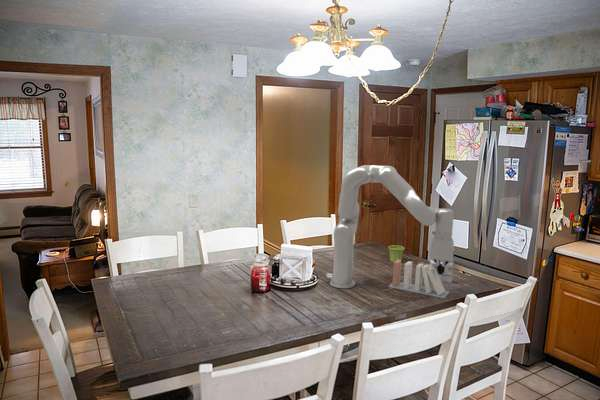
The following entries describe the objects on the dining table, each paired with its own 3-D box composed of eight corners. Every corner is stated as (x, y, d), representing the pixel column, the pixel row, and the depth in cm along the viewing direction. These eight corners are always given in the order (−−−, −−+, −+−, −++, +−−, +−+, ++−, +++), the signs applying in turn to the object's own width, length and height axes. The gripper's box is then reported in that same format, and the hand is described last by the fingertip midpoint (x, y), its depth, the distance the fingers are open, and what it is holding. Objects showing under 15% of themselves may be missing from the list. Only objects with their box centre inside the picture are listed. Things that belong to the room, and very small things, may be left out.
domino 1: (392, 286, 219) (393, 262, 218) (396, 282, 225) (397, 259, 223) (396, 286, 218) (397, 263, 217) (400, 283, 224) (401, 260, 222)
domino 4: (426, 292, 211) (421, 267, 211) (429, 289, 216) (425, 264, 216) (430, 292, 210) (426, 267, 210) (433, 289, 215) (429, 264, 215)
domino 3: (414, 290, 214) (416, 266, 212) (418, 286, 219) (419, 263, 217) (418, 291, 213) (420, 266, 211) (422, 287, 218) (423, 263, 216)
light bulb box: (449, 280, 233) (450, 260, 232) (452, 284, 227) (453, 264, 225) (428, 279, 234) (429, 259, 233) (430, 283, 228) (432, 262, 226)
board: (387, 288, 219) (387, 286, 219) (394, 282, 227) (394, 281, 227) (444, 300, 205) (444, 298, 205) (449, 293, 214) (449, 291, 214)
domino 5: (437, 295, 208) (426, 271, 210) (441, 291, 214) (430, 268, 215) (441, 293, 207) (430, 269, 209) (444, 290, 213) (433, 266, 214)
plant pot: (406, 261, 266) (406, 246, 265) (400, 264, 258) (401, 250, 257) (390, 258, 271) (391, 244, 270) (385, 262, 263) (385, 247, 262)
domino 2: (403, 288, 217) (404, 264, 215) (407, 284, 222) (408, 261, 220) (407, 289, 216) (408, 264, 214) (411, 285, 221) (412, 261, 219)
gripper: (424, 234, 207) (422, 273, 210) (458, 239, 200) (455, 279, 203) (429, 231, 214) (426, 269, 217) (461, 236, 206) (458, 274, 209)
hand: (440, 273), depth 210 cm, fingers closed
